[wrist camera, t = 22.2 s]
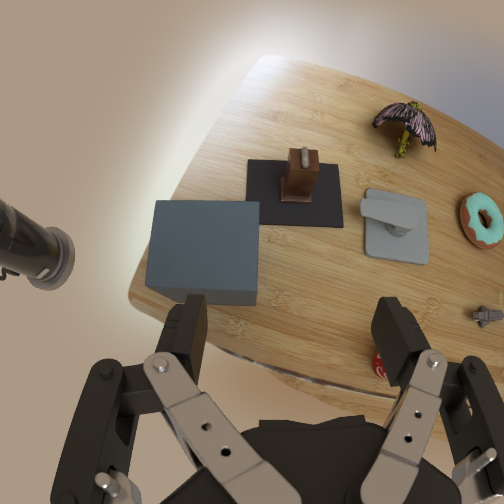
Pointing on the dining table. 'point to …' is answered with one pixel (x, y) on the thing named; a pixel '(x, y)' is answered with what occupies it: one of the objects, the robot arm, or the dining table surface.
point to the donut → (472, 223)
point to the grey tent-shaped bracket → (205, 251)
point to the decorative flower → (408, 124)
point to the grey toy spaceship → (487, 316)
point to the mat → (294, 214)
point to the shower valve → (395, 227)
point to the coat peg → (299, 176)
